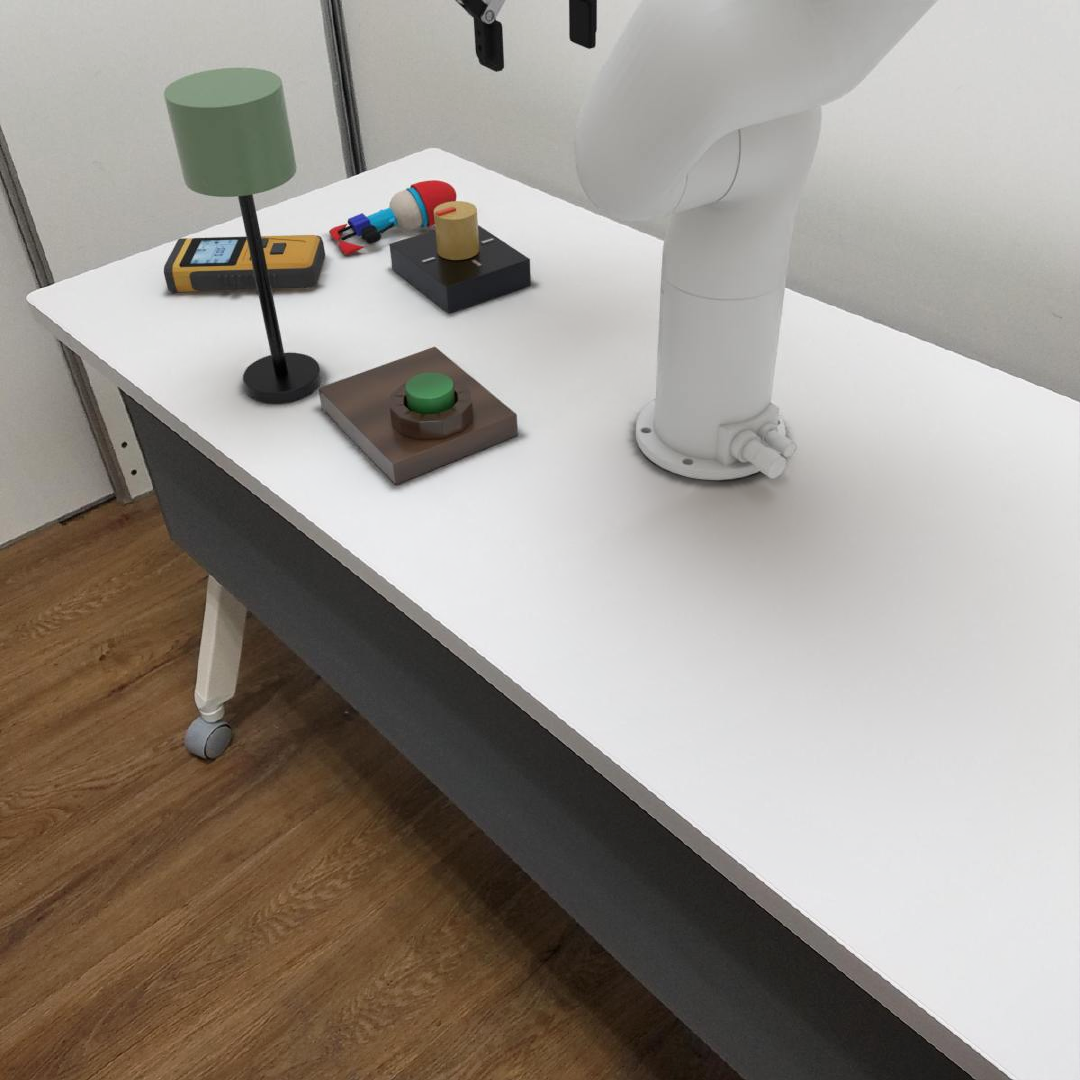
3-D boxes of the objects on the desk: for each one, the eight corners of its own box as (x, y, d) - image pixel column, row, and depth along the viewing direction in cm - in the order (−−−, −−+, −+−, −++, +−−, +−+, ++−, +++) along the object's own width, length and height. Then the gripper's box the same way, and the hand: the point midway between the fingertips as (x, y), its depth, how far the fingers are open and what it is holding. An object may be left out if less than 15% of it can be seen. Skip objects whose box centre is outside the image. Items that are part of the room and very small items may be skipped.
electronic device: (317, 295, 119) (312, 265, 117) (168, 297, 119) (160, 268, 117) (328, 257, 125) (323, 228, 123) (186, 260, 125) (179, 231, 123)
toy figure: (352, 271, 125) (472, 220, 128) (337, 230, 122) (461, 179, 125) (332, 249, 131) (447, 201, 134) (317, 210, 128) (436, 161, 131)
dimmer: (465, 237, 121) (461, 194, 118) (487, 252, 118) (484, 208, 115) (429, 249, 119) (425, 205, 116) (451, 264, 116) (447, 220, 113)
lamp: (348, 388, 104) (300, 89, 87) (257, 421, 101) (188, 116, 83) (307, 347, 110) (254, 59, 93) (219, 377, 106) (147, 83, 89)
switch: (463, 405, 95) (462, 387, 94) (422, 421, 94) (420, 403, 92) (439, 384, 98) (438, 367, 97) (398, 400, 96) (396, 382, 95)
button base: (518, 435, 98) (516, 396, 95) (395, 485, 93) (390, 445, 90) (437, 366, 107) (433, 328, 104) (321, 408, 102) (314, 370, 99)
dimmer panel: (531, 285, 119) (530, 257, 117) (448, 313, 114) (446, 285, 112) (471, 244, 126) (469, 217, 124) (392, 269, 122) (388, 242, 120)
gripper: (592, -189, 95) (592, 27, 106) (411, -164, 88) (431, 65, 99) (648, -179, 90) (641, 46, 101) (461, -151, 83) (476, 88, 94)
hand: (537, 55), depth 100 cm, fingers open, 9 cm apart
